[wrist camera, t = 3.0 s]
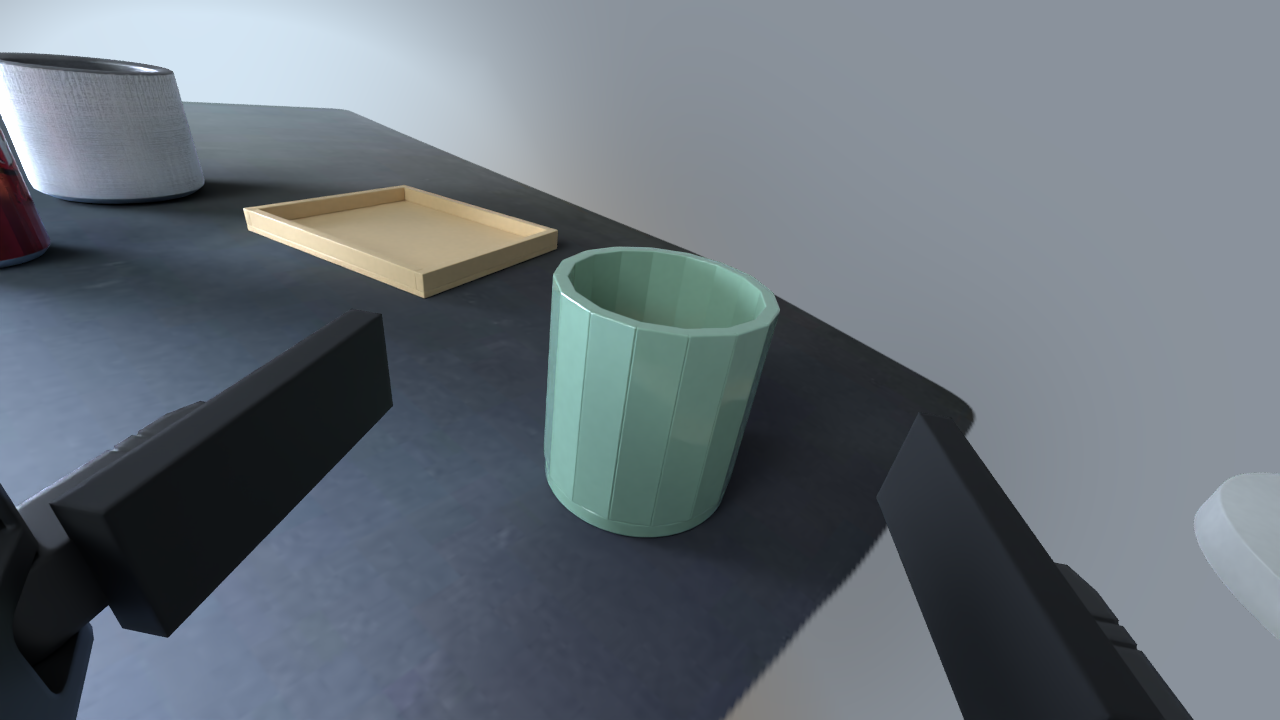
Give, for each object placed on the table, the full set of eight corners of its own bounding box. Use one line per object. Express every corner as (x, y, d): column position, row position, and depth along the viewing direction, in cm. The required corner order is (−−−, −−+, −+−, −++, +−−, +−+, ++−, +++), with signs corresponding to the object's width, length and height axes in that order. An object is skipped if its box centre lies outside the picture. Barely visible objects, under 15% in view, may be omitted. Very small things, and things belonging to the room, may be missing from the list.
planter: (236, 187, 57) (208, 73, 51) (132, 214, 46) (81, 73, 41) (123, 170, 57) (83, 54, 51) (-9, 193, 46) (-78, 49, 40)
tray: (557, 248, 54) (558, 230, 53) (424, 298, 39) (422, 274, 38) (405, 202, 61) (404, 184, 60) (247, 230, 47) (242, 207, 46)
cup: (747, 452, 28) (799, 284, 23) (684, 573, 21) (740, 364, 16) (604, 394, 31) (623, 234, 27) (505, 481, 24) (505, 282, 19)
